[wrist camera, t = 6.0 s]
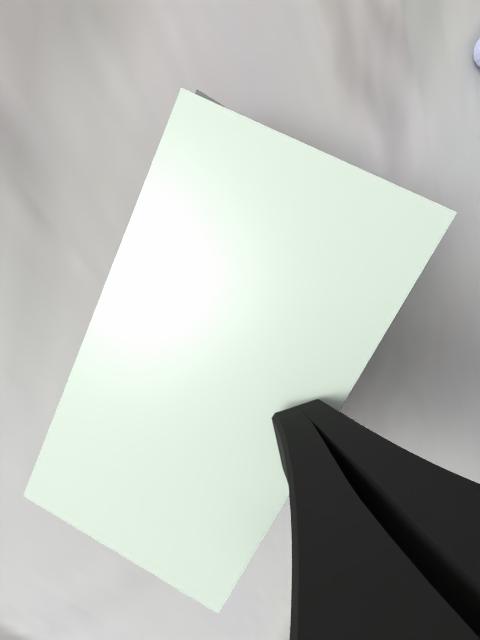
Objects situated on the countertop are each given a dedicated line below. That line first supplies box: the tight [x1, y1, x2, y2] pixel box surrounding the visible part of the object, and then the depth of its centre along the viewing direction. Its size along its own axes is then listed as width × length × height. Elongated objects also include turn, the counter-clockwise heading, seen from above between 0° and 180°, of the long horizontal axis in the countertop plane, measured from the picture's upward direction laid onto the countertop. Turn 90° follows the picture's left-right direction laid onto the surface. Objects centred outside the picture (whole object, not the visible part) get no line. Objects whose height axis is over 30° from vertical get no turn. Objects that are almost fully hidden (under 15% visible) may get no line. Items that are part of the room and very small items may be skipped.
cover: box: [23, 88, 457, 613], centre depth 10 cm, size 7×13×1 cm, turn 154°
